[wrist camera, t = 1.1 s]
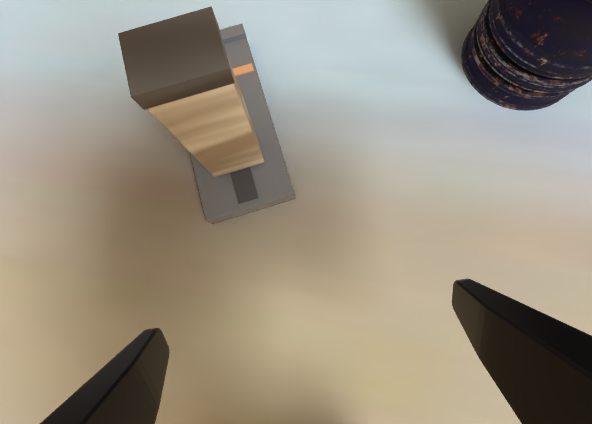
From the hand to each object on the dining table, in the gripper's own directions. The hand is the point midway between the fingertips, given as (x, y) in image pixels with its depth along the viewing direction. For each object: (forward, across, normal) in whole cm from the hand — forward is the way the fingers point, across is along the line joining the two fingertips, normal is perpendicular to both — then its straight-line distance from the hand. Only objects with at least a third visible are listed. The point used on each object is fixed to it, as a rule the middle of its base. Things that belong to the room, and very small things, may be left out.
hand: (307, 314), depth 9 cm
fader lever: (+17, +4, -2) cm, 17 cm away
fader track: (+20, +4, -4) cm, 21 cm away
